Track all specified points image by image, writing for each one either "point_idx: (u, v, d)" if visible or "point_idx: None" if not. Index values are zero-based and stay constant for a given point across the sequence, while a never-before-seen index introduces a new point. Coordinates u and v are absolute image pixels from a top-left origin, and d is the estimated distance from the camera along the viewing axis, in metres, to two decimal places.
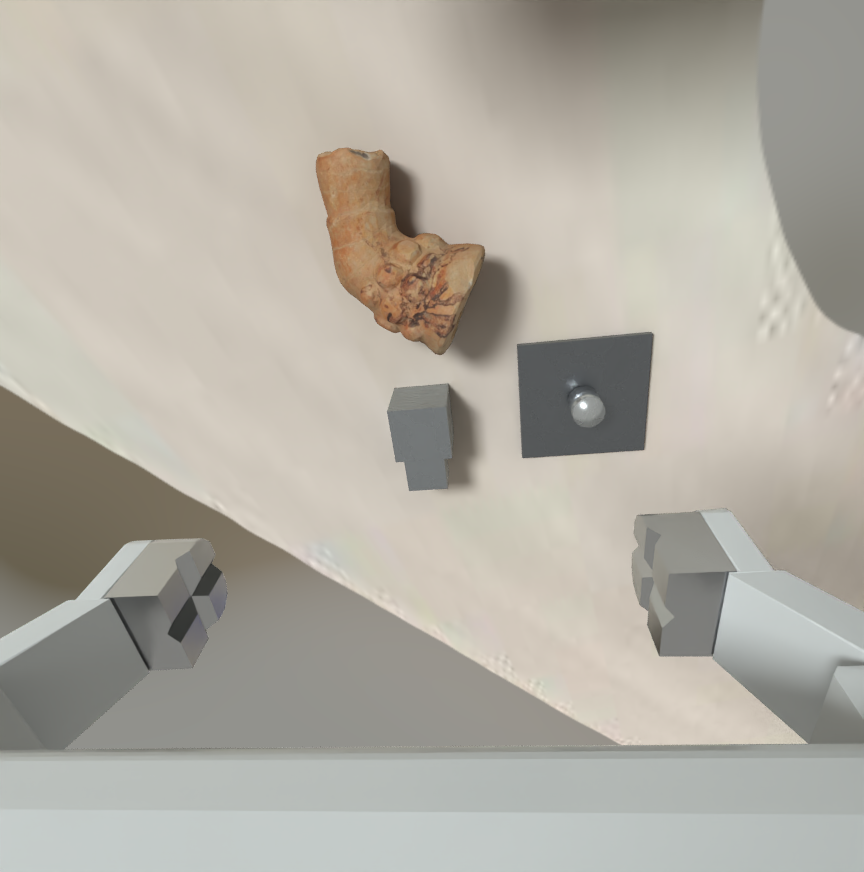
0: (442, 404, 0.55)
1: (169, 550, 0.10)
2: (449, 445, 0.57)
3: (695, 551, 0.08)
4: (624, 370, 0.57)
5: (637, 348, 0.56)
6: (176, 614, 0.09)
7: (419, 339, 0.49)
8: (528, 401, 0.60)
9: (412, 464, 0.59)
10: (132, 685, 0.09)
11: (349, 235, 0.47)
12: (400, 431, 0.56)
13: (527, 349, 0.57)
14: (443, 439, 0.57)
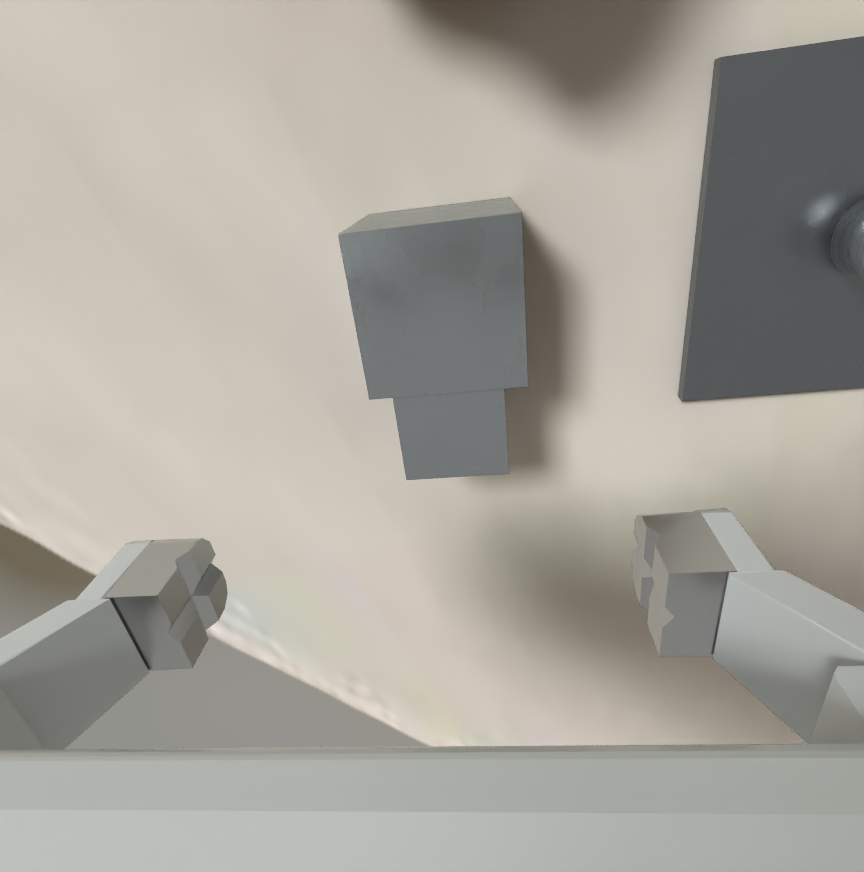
0: (508, 211, 0.18)
1: (169, 550, 0.10)
2: (523, 346, 0.20)
3: (695, 551, 0.08)
4: None
5: None
6: (176, 614, 0.09)
7: None
8: (723, 242, 0.23)
9: (416, 406, 0.21)
10: (132, 685, 0.09)
11: None
12: (380, 302, 0.19)
13: (749, 68, 0.20)
14: (507, 327, 0.19)
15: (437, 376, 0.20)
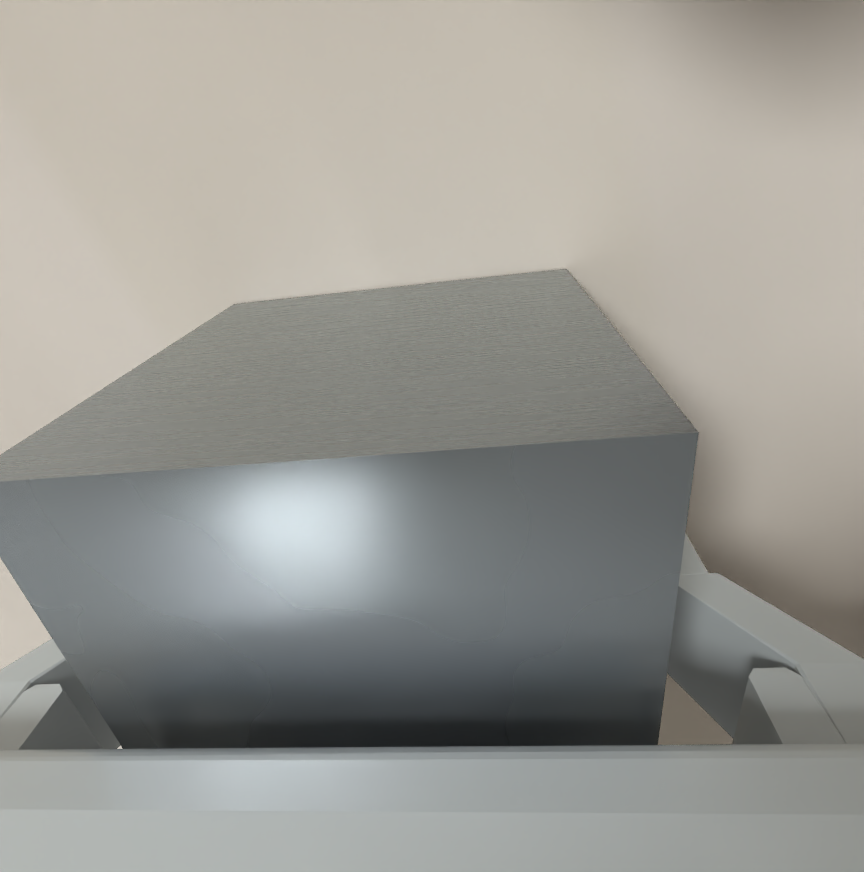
0: (619, 396, 0.05)
1: None
2: None
3: None
4: None
5: None
6: None
7: None
8: None
9: None
10: None
11: None
12: (166, 672, 0.06)
13: None
14: None
15: None
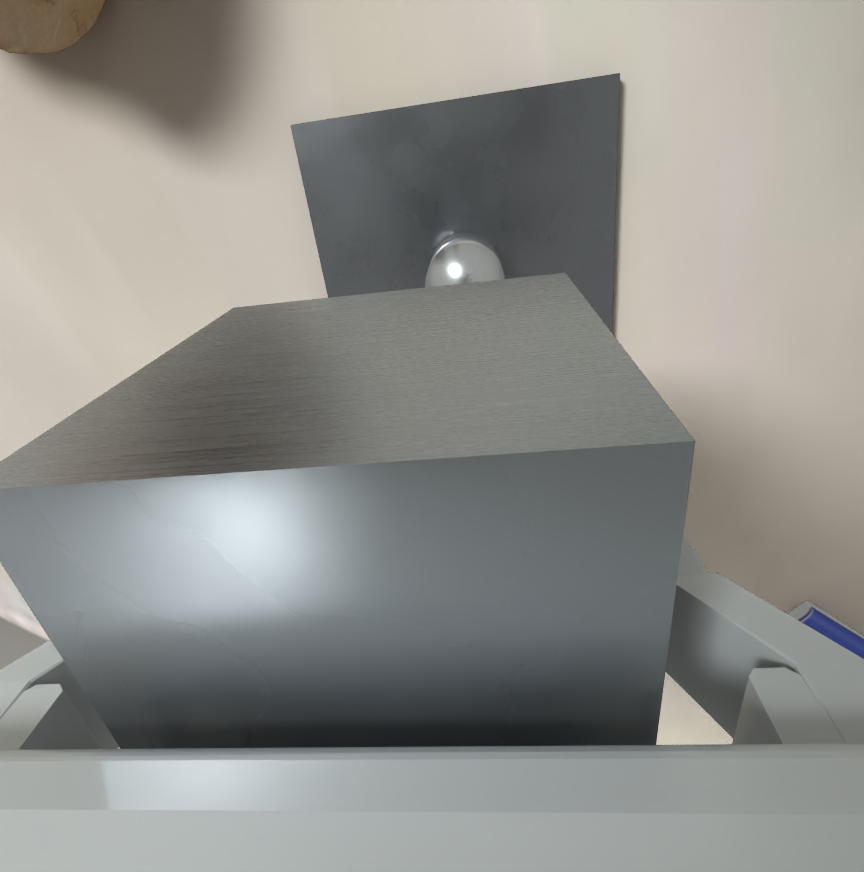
0: (617, 403, 0.05)
1: None
2: None
3: None
4: (555, 185, 0.24)
5: (583, 120, 0.22)
6: None
7: None
8: (342, 276, 0.26)
9: None
10: None
11: None
12: (165, 677, 0.06)
13: (316, 134, 0.23)
14: None
15: None
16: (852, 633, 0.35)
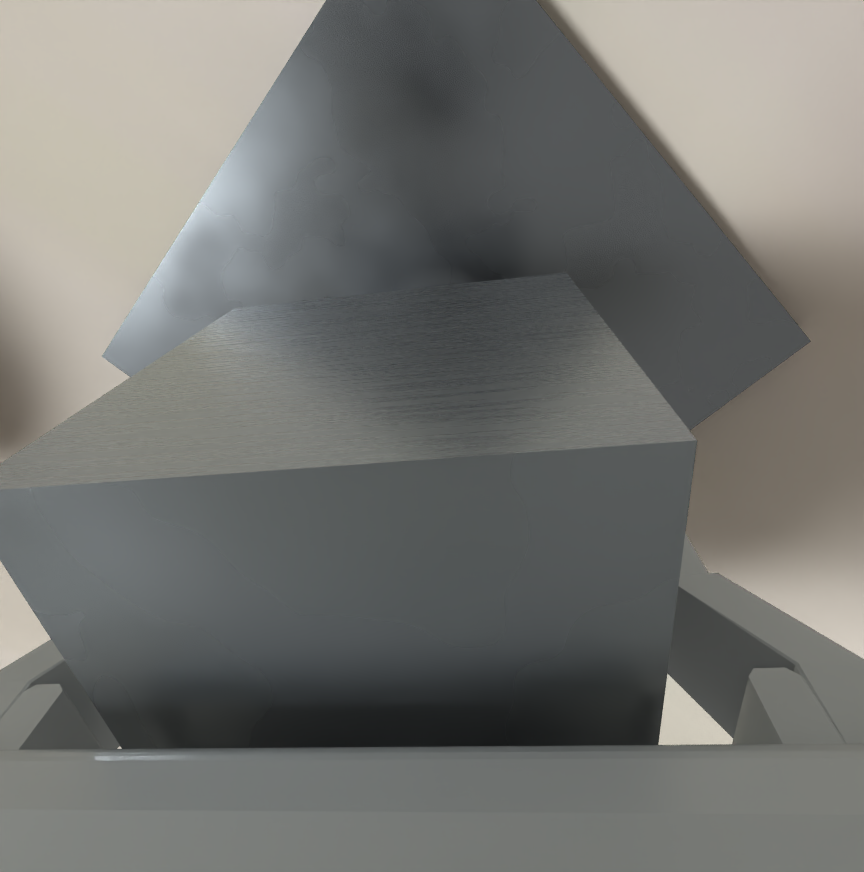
0: (618, 403, 0.05)
1: None
2: None
3: None
4: (465, 129, 0.12)
5: None
6: None
7: None
8: None
9: None
10: None
11: None
12: (167, 677, 0.06)
13: (133, 342, 0.15)
14: None
15: None
16: None
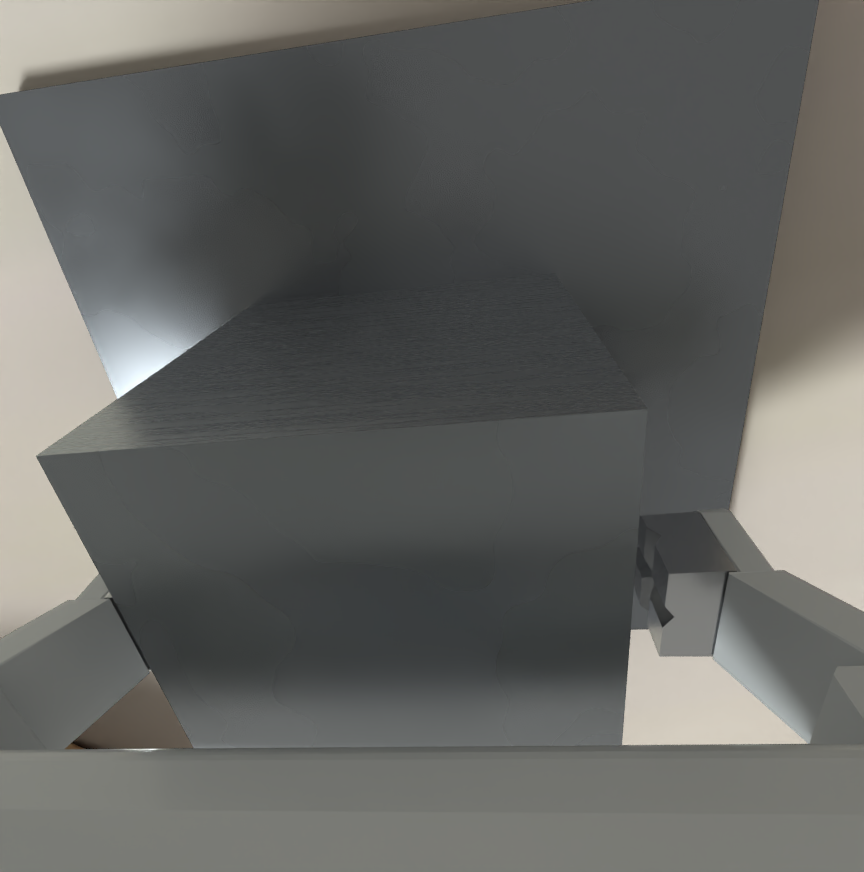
0: (588, 382, 0.06)
1: None
2: (614, 722, 0.07)
3: (695, 552, 0.08)
4: (234, 228, 0.10)
5: (95, 175, 0.10)
6: None
7: None
8: None
9: None
10: (132, 685, 0.09)
11: None
12: (205, 620, 0.07)
13: None
14: (571, 684, 0.07)
15: None
16: None
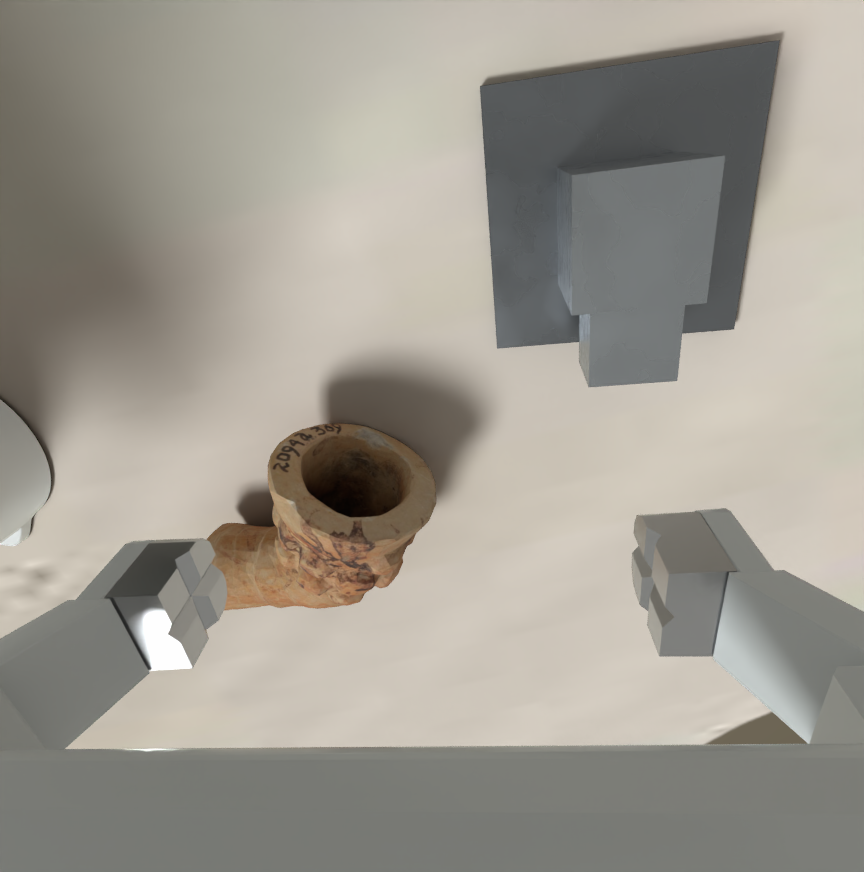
0: (709, 156, 0.23)
1: (169, 550, 0.10)
2: (708, 268, 0.24)
3: (695, 551, 0.08)
4: (558, 135, 0.28)
5: (510, 115, 0.27)
6: (176, 614, 0.09)
7: (394, 555, 0.33)
8: None
9: (608, 322, 0.26)
10: (132, 685, 0.09)
11: (284, 599, 0.38)
12: (596, 232, 0.24)
13: (504, 331, 0.33)
14: (697, 252, 0.24)
15: (632, 295, 0.25)
16: None
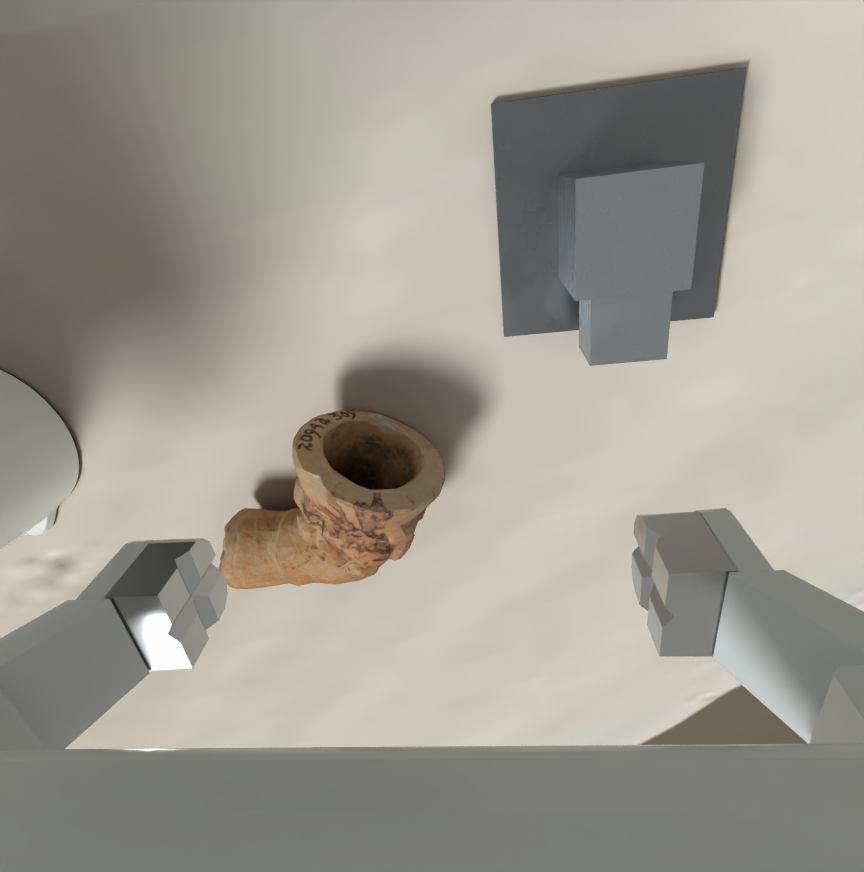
0: (690, 163, 0.27)
1: (169, 550, 0.10)
2: (692, 259, 0.28)
3: (695, 551, 0.08)
4: (559, 146, 0.32)
5: (518, 128, 0.31)
6: (176, 614, 0.09)
7: (408, 526, 0.36)
8: None
9: (607, 307, 0.30)
10: (132, 685, 0.09)
11: (302, 576, 0.41)
12: (596, 228, 0.28)
13: (510, 321, 0.37)
14: (682, 245, 0.28)
15: (627, 282, 0.29)
16: None
